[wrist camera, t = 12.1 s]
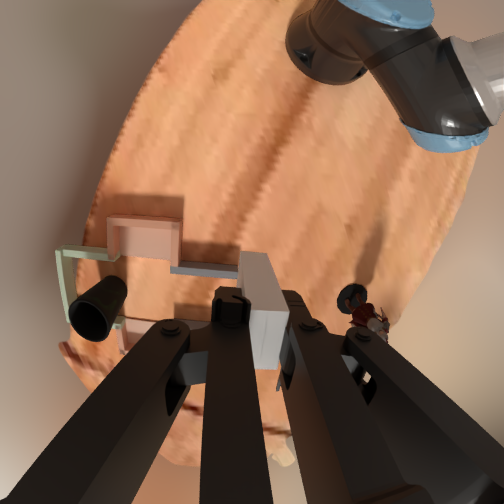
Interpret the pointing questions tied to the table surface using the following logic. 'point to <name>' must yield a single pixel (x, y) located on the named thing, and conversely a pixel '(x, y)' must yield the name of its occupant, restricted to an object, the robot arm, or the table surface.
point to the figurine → (362, 310)
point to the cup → (98, 309)
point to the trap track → (136, 245)
